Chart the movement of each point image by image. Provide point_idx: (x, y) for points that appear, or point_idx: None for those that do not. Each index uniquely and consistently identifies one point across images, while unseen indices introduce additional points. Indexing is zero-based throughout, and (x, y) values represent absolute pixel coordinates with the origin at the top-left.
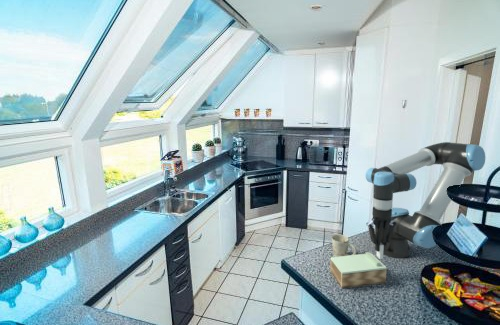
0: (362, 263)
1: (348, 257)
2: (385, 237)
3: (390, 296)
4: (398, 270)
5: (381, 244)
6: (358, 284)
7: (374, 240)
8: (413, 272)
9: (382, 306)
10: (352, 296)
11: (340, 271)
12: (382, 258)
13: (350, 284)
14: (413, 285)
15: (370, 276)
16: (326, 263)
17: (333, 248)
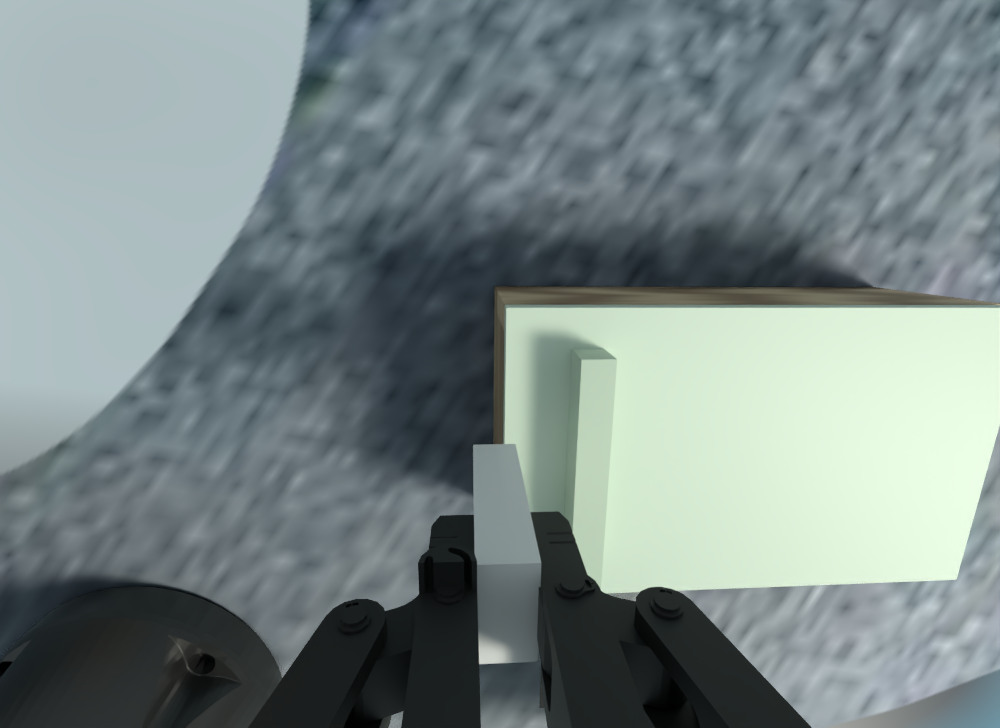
0: (719, 428)
1: (787, 553)
2: (430, 721)
3: (565, 112)
4: (279, 429)
5: (500, 592)
6: (747, 288)
7: (725, 656)
8: (161, 382)
9: (709, 4)
10: (857, 177)
11: None
12: (479, 446)
13: (822, 290)
14: (275, 212)
15: (667, 297)
16: (797, 597)
17: None
